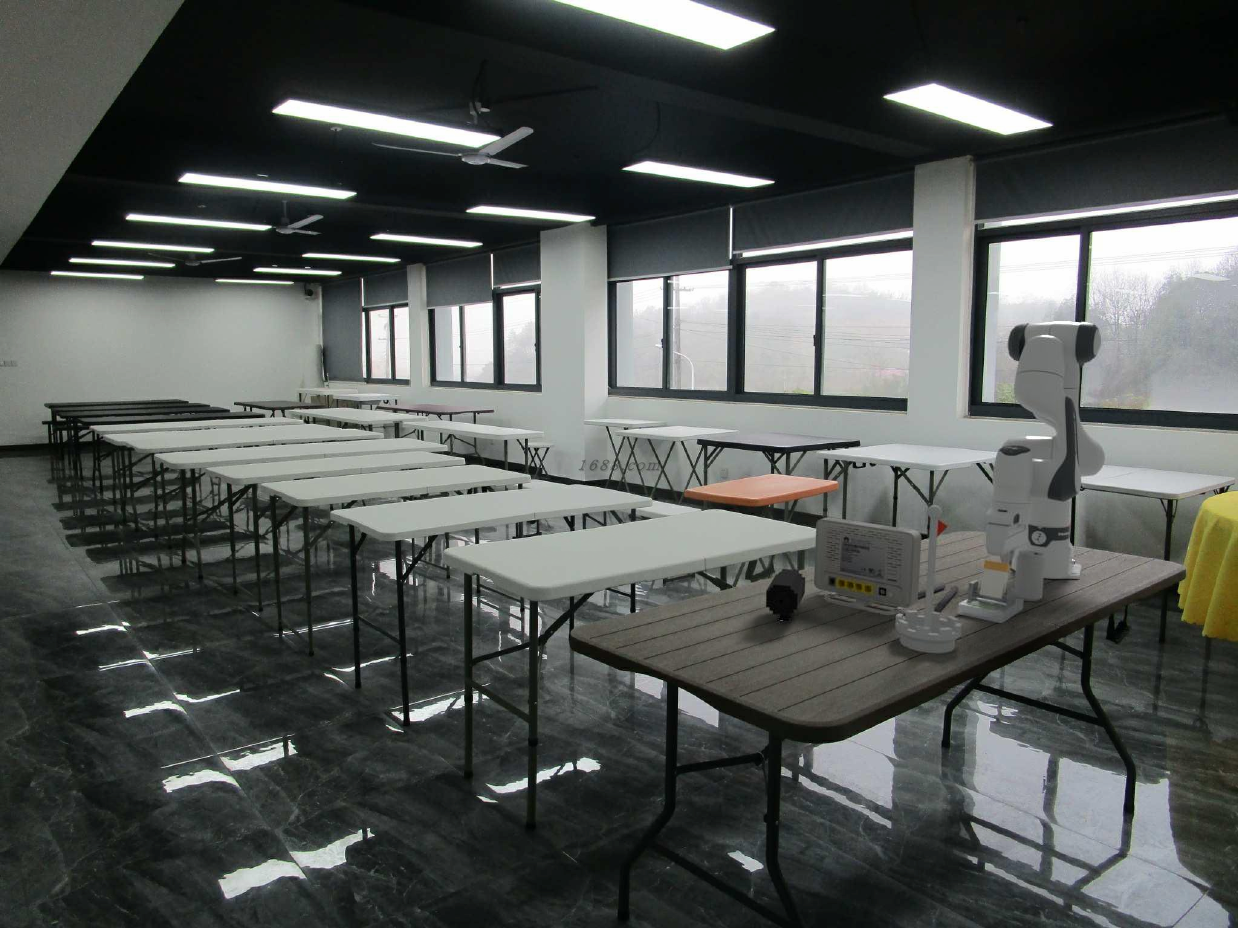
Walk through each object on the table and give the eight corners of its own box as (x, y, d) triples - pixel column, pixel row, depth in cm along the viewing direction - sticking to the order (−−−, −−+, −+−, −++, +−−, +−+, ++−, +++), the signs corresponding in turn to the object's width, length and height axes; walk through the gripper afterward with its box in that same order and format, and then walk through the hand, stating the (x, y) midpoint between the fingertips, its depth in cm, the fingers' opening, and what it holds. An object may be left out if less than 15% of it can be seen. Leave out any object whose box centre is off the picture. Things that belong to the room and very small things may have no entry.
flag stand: (936, 659, 165) (945, 513, 161) (882, 641, 175) (889, 503, 171) (972, 646, 172) (981, 506, 168) (918, 629, 183) (925, 497, 179)
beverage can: (1045, 602, 204) (1048, 556, 202) (1017, 601, 205) (1020, 554, 203) (1037, 595, 210) (1041, 550, 208) (1010, 594, 211) (1014, 548, 210)
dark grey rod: (952, 590, 214) (952, 585, 214) (958, 591, 213) (958, 586, 213) (933, 612, 195) (933, 606, 195) (939, 613, 194) (939, 607, 194)
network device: (921, 611, 196) (925, 529, 193) (905, 619, 190) (910, 535, 187) (825, 590, 213) (828, 515, 211) (807, 597, 207) (810, 519, 204)
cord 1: (940, 587, 216) (940, 582, 216) (945, 588, 215) (945, 583, 215) (904, 601, 204) (904, 595, 204) (909, 602, 203) (909, 597, 203)
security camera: (805, 607, 198) (807, 567, 197) (795, 631, 181) (797, 587, 179) (776, 604, 200) (778, 565, 199) (764, 627, 183) (766, 584, 182)
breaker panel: (980, 600, 205) (982, 575, 204) (1022, 609, 198) (1024, 583, 198) (957, 613, 194) (959, 587, 193) (1001, 623, 187) (1003, 595, 187)
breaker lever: (977, 597, 199) (983, 560, 200) (1008, 603, 194) (1014, 565, 195) (974, 596, 197) (980, 559, 198) (1005, 602, 192) (1012, 564, 193)
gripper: (1010, 505, 210) (1006, 557, 212) (982, 516, 195) (978, 572, 197) (1037, 508, 206) (1033, 562, 207) (1010, 519, 191) (1006, 577, 192)
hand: (1006, 567), depth 202 cm, fingers closed
